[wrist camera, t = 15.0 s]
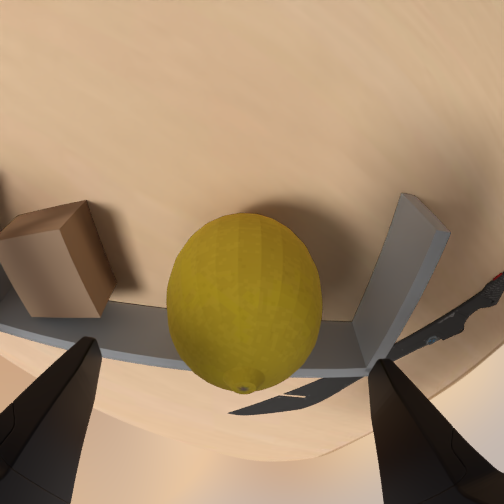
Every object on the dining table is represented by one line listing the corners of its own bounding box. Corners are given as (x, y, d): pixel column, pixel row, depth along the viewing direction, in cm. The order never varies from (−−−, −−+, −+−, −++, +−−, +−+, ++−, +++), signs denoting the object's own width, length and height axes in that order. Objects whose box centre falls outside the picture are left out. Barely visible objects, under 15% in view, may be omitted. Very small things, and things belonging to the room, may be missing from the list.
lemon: (320, 200, 14) (381, 339, 7) (282, 293, 17) (299, 434, 10) (197, 169, 13) (146, 299, 6) (178, 272, 16) (144, 413, 9)
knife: (248, 424, 26) (248, 429, 26) (219, 408, 25) (219, 414, 24) (559, 255, 16) (562, 260, 16) (561, 219, 14) (565, 223, 14)
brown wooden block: (87, 198, 14) (59, 229, 11) (118, 279, 16) (100, 317, 14) (20, 213, 14) (-10, 242, 11) (52, 283, 17) (31, 317, 14)
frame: (414, 195, 13) (451, 232, 11) (359, 331, 19) (373, 375, 16) (-27, 165, 12) (-66, 191, 9) (9, 291, 17) (-15, 326, 14)
